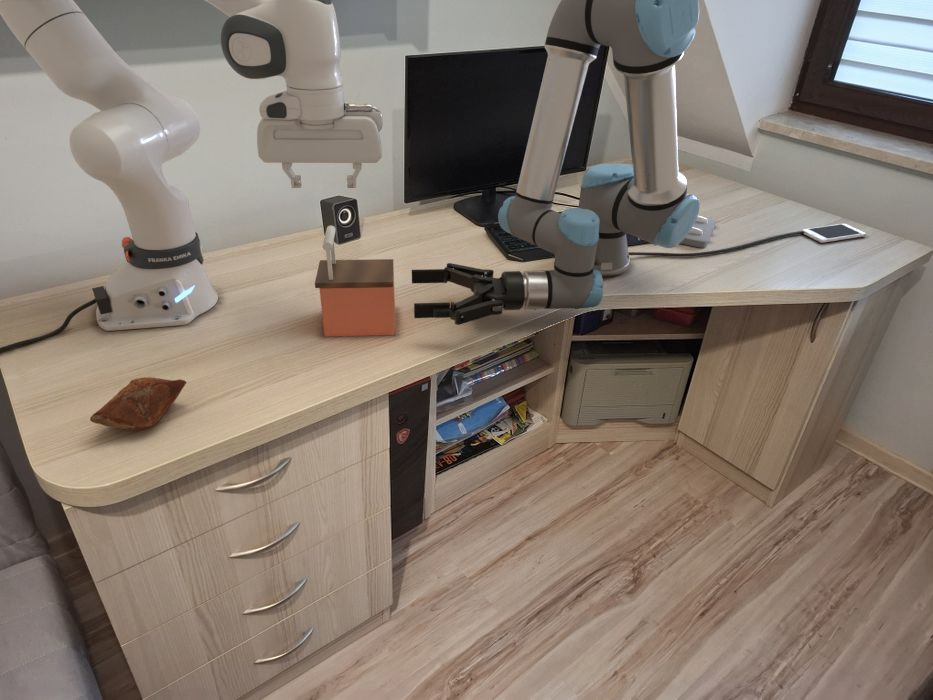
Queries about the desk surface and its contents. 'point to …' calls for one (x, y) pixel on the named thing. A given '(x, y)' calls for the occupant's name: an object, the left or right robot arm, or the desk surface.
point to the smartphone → (833, 233)
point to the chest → (358, 311)
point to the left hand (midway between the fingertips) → (324, 187)
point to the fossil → (139, 403)
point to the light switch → (700, 232)
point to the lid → (351, 269)
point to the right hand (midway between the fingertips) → (412, 292)
